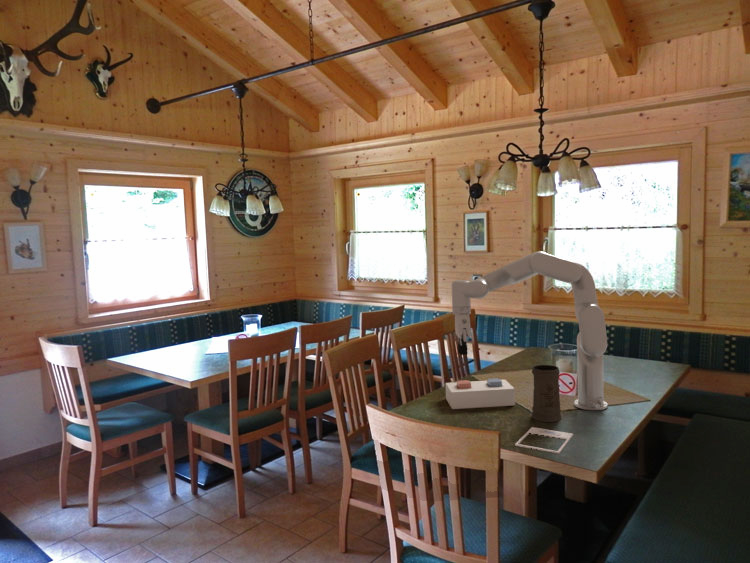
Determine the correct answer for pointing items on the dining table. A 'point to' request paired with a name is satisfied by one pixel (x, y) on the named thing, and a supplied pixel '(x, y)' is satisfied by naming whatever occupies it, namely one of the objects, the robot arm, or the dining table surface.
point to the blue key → (494, 382)
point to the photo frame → (547, 433)
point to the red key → (463, 384)
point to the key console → (480, 395)
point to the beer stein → (546, 393)
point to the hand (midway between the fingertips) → (462, 353)
